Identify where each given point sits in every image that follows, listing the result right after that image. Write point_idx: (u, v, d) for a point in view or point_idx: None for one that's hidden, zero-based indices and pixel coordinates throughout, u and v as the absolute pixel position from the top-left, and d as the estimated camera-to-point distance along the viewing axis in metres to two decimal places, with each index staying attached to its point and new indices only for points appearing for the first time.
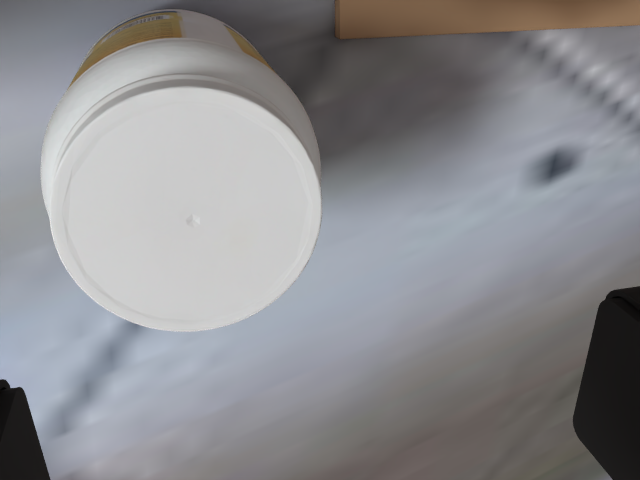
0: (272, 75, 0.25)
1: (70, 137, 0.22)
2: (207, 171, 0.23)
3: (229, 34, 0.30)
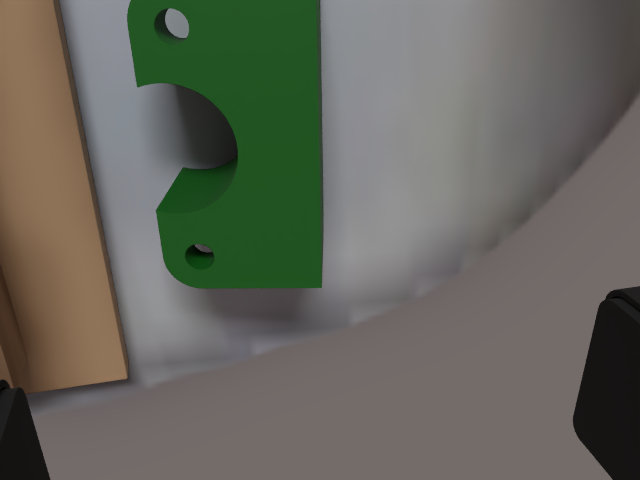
0: None
1: None
2: None
3: None
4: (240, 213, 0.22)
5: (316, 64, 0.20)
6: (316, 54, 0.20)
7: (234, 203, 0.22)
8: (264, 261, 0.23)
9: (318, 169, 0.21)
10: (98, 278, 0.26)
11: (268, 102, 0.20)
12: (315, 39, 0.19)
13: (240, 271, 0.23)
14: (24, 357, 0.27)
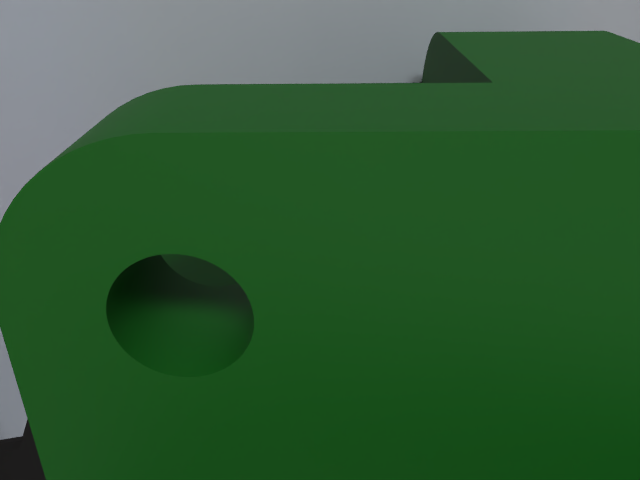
0: None
1: None
2: None
3: None
4: None
5: None
6: None
7: None
8: None
9: None
10: None
11: None
12: None
13: None
14: None
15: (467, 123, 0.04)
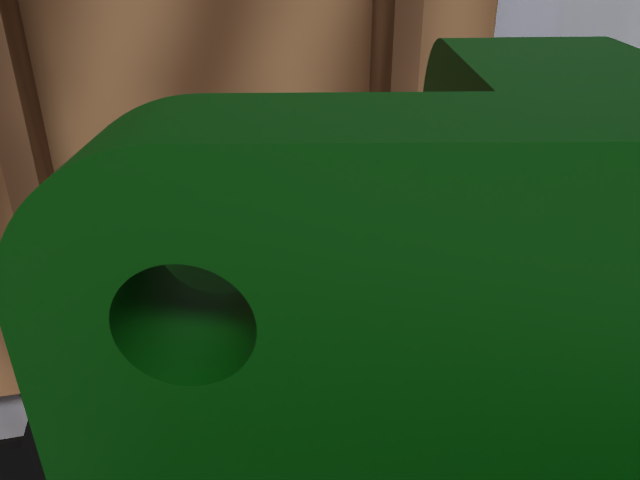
0: None
1: None
2: None
3: None
4: None
5: None
6: None
7: None
8: None
9: None
10: None
11: None
12: None
13: None
14: None
15: (470, 134, 0.04)
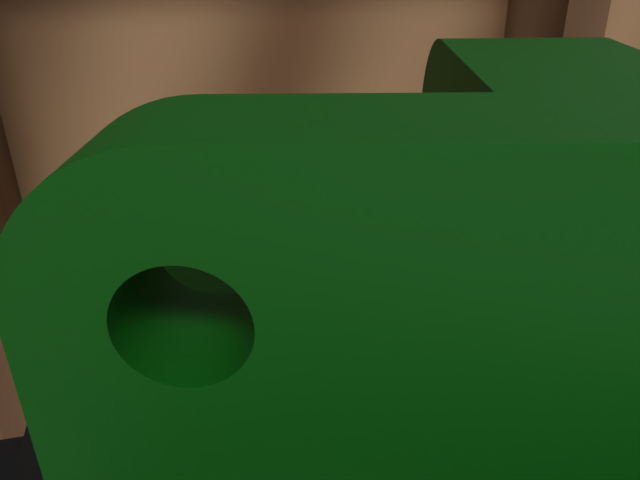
0: None
1: None
2: None
3: None
4: None
5: None
6: None
7: None
8: None
9: None
10: None
11: None
12: None
13: None
14: None
15: (468, 135, 0.04)
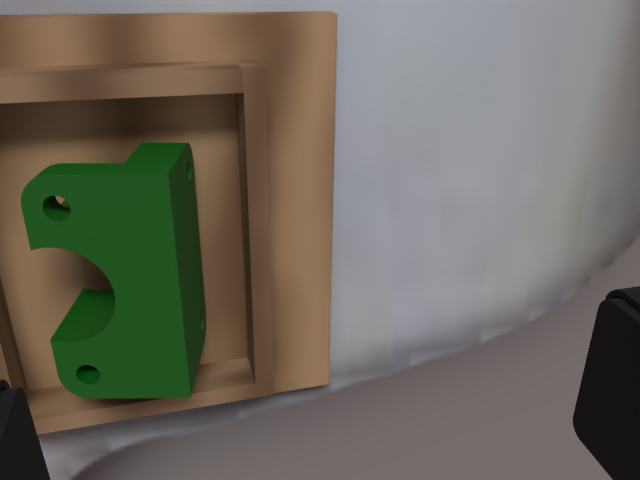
0: None
1: None
2: None
3: None
4: (119, 341, 0.27)
5: (173, 236, 0.25)
6: (173, 228, 0.25)
7: (114, 335, 0.27)
8: (142, 378, 0.28)
9: (181, 310, 0.27)
10: (324, 310, 0.36)
11: (137, 262, 0.26)
12: (171, 218, 0.25)
13: (122, 385, 0.28)
14: None
15: (104, 173, 0.24)
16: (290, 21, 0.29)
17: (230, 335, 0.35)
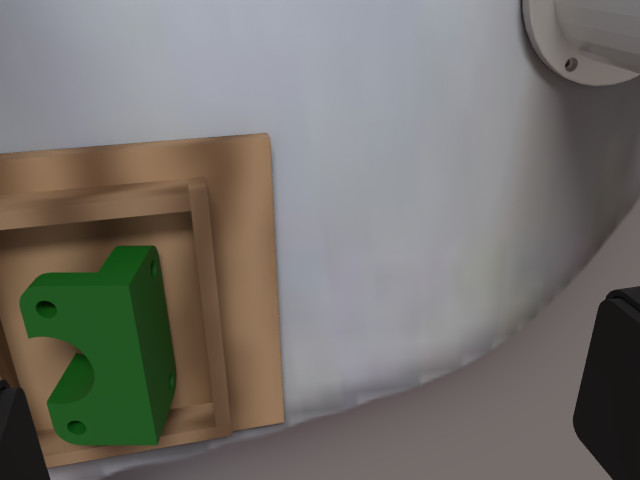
0: None
1: None
2: None
3: None
4: (99, 404, 0.35)
5: (135, 328, 0.33)
6: (135, 323, 0.33)
7: (95, 399, 0.35)
8: (118, 430, 0.36)
9: (145, 381, 0.34)
10: (276, 363, 0.43)
11: (109, 347, 0.33)
12: (133, 316, 0.32)
13: (103, 435, 0.36)
14: None
15: (81, 283, 0.32)
16: (231, 147, 0.36)
17: (197, 385, 0.42)
